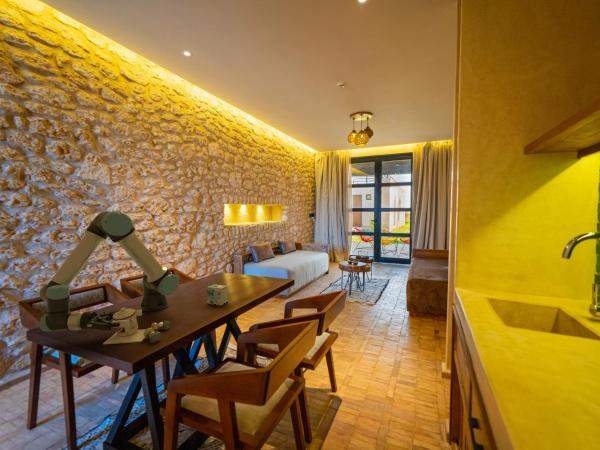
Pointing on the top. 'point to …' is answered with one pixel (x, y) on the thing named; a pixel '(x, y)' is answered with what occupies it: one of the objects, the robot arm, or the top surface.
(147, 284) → the robot arm
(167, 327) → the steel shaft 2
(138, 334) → the pad
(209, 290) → the light bulb box
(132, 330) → the teacup with lid
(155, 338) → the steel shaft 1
